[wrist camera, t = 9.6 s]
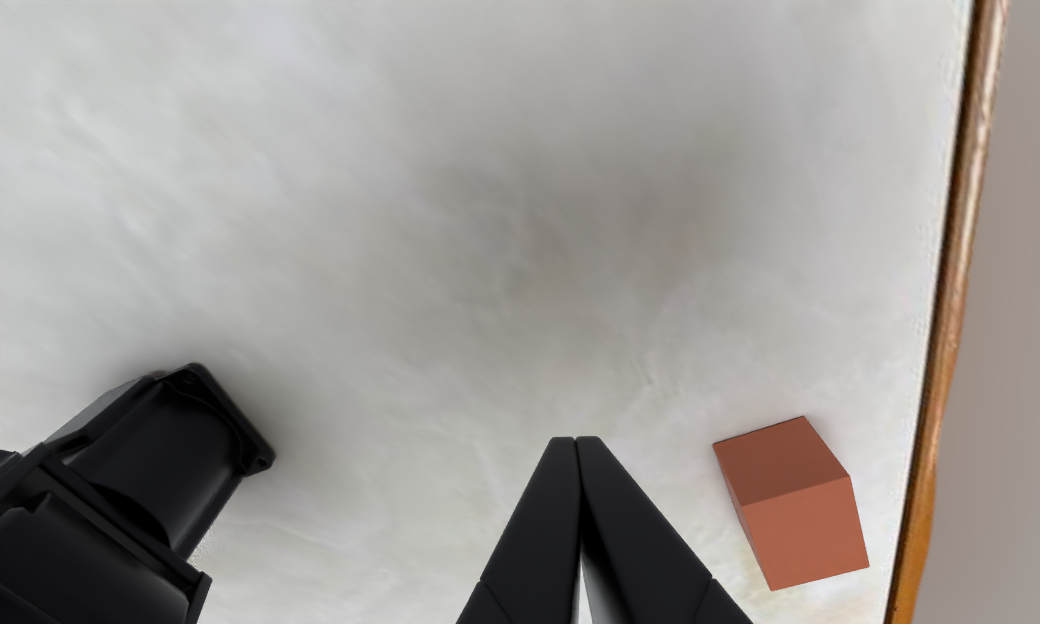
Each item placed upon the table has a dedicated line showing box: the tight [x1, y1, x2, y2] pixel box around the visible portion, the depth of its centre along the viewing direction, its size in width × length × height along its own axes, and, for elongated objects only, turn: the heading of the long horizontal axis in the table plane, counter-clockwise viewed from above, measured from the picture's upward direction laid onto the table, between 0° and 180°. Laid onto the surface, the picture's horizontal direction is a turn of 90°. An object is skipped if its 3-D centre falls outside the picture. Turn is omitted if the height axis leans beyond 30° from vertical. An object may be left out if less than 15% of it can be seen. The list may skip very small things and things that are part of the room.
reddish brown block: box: [713, 417, 870, 591], centre depth 25 cm, size 6×4×4 cm
